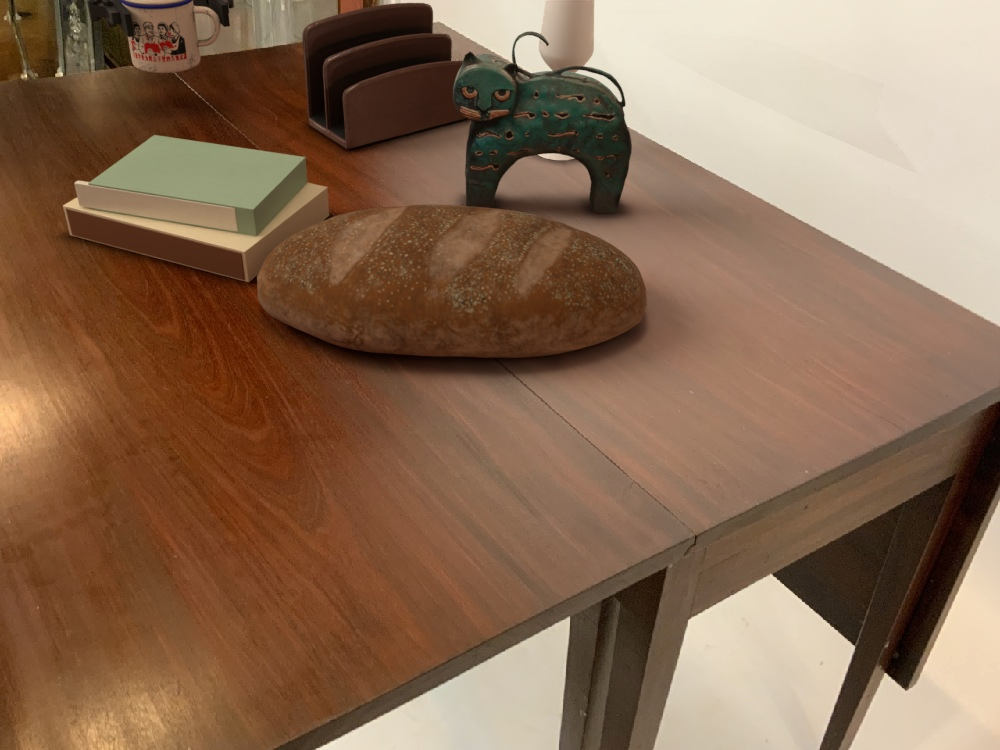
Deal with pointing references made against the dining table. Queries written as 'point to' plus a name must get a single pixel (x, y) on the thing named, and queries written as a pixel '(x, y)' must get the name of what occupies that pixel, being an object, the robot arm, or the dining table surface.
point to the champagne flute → (567, 39)
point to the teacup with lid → (167, 34)
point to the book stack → (198, 204)
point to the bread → (452, 283)
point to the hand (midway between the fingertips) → (178, 20)
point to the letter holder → (378, 74)
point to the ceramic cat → (540, 124)
